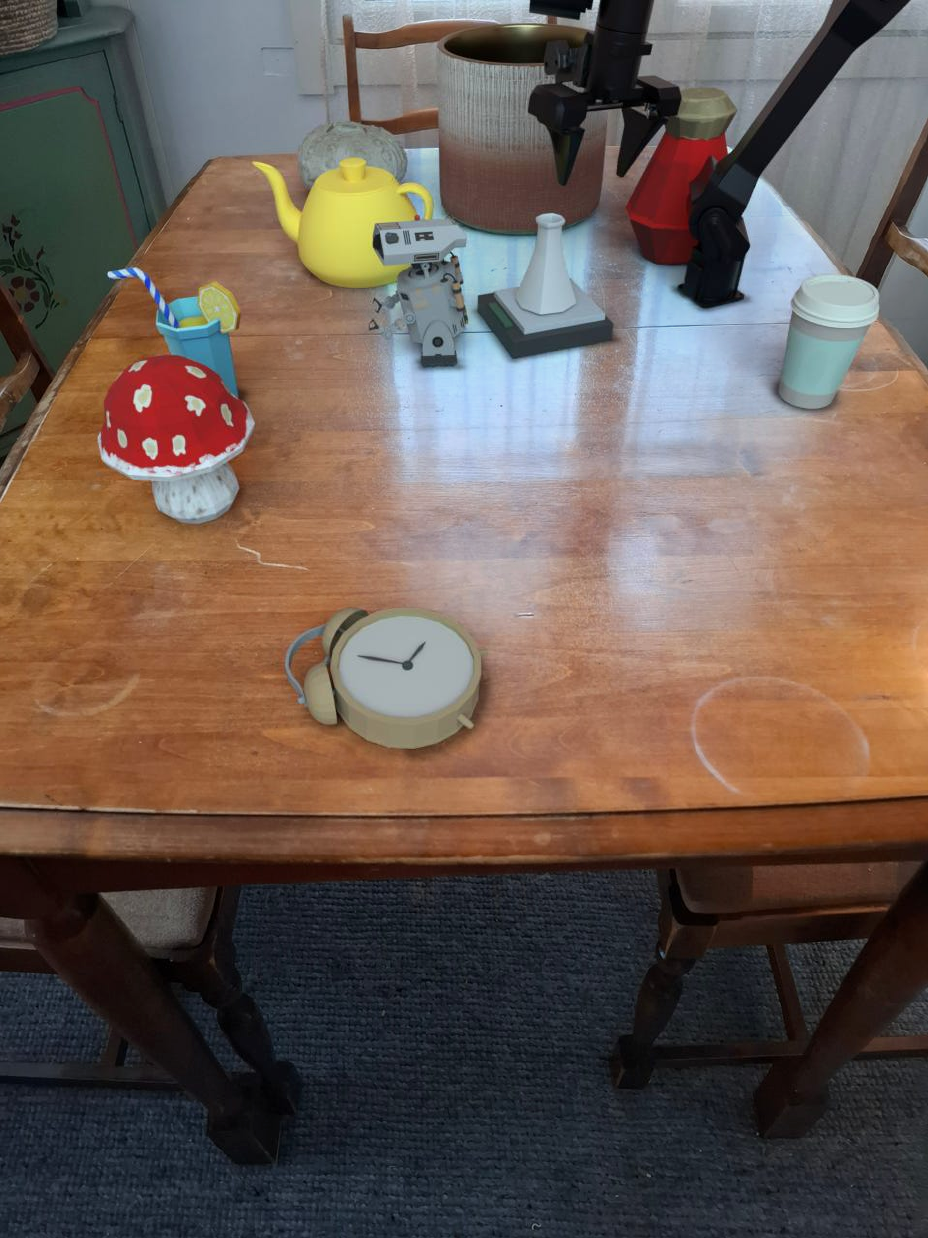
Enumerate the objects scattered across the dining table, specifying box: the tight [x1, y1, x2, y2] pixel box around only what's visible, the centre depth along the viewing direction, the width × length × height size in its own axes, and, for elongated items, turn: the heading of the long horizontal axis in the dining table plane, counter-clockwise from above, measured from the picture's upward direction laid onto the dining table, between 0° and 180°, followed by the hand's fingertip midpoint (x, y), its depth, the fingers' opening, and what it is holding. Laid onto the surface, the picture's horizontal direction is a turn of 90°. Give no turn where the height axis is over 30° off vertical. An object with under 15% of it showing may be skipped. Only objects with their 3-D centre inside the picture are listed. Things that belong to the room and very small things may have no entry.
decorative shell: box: [296, 119, 409, 192], centre depth 130 cm, size 18×18×10 cm
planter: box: [435, 22, 609, 236], centre depth 120 cm, size 25×25×22 cm
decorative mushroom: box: [97, 354, 256, 525], centre depth 72 cm, size 14×14×15 cm
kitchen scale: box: [477, 277, 614, 360], centre depth 100 cm, size 13×13×3 cm
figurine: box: [368, 214, 469, 368], centre depth 92 cm, size 9×12×15 cm
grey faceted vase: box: [515, 213, 576, 315], centre depth 95 cm, size 7×7×10 cm
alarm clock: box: [284, 606, 489, 750], centre depth 61 cm, size 11×5×15 cm
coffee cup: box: [778, 273, 880, 410], centre depth 85 cm, size 8×8×12 cm
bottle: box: [624, 86, 739, 267], centre depth 108 cm, size 16×14×20 cm
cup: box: [107, 266, 242, 399], centre depth 85 cm, size 14×8×15 cm, turn 80°
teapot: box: [251, 157, 435, 289], centre depth 109 cm, size 25×18×14 cm
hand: (591, 180), depth 98 cm, fingers open, 9 cm apart
